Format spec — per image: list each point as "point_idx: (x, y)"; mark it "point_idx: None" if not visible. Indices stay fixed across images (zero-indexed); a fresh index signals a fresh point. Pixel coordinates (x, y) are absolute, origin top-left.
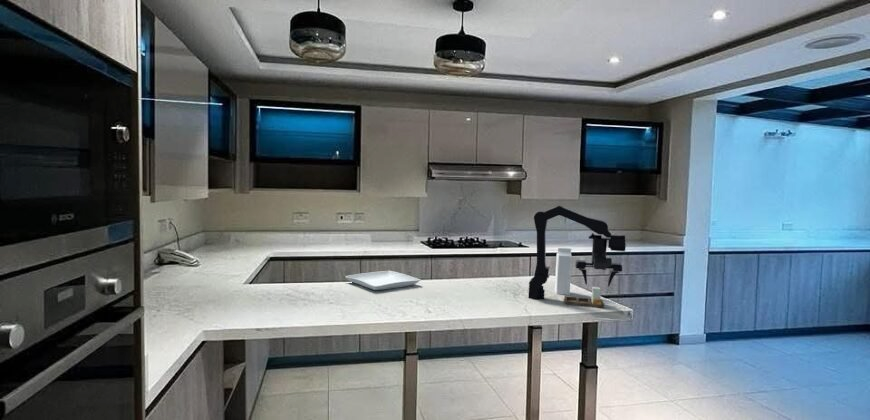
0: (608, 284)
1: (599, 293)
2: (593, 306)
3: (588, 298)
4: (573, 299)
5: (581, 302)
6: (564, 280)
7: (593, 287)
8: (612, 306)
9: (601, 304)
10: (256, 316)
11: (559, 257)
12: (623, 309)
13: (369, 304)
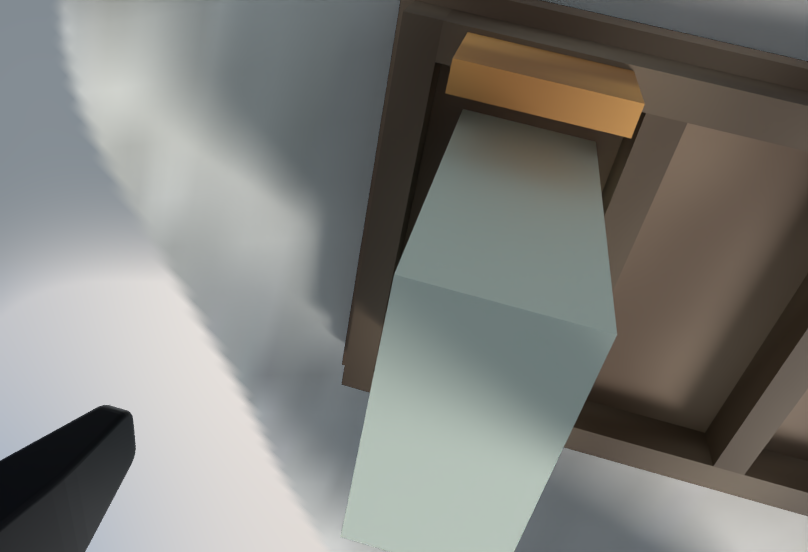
0: (86, 446)
1: (447, 234)
2: (621, 51)
3: None
4: (777, 460)
5: (707, 335)
6: None
7: (502, 523)
8: (227, 231)
9: (449, 61)
10: None
11: None
12: (87, 77)
13: None
